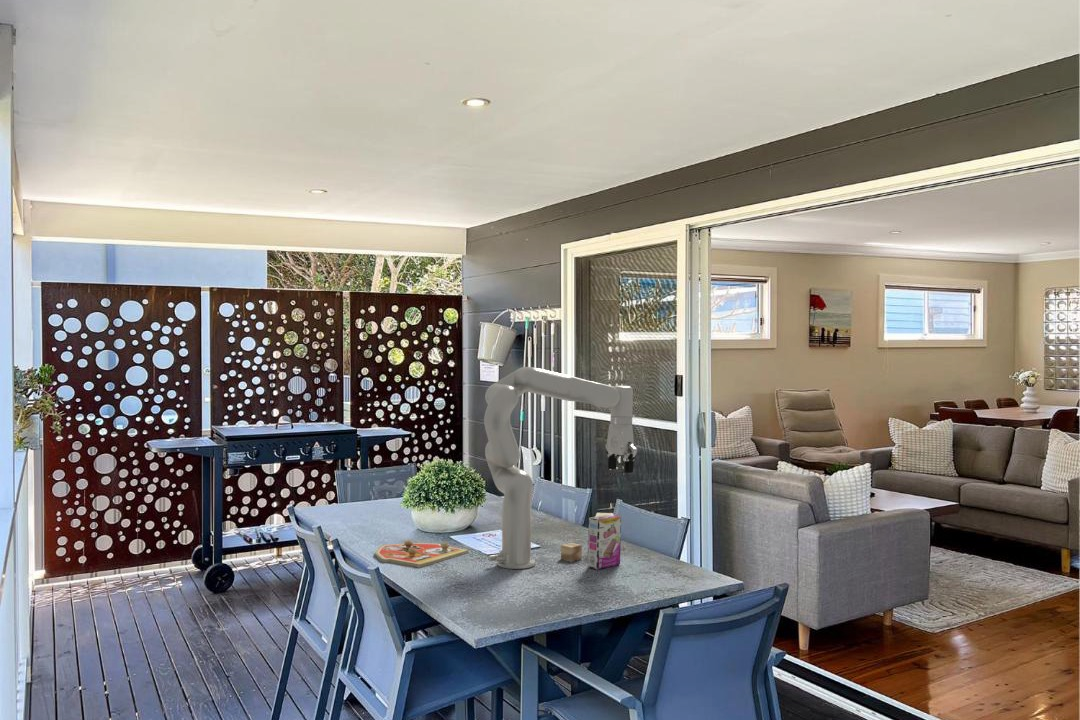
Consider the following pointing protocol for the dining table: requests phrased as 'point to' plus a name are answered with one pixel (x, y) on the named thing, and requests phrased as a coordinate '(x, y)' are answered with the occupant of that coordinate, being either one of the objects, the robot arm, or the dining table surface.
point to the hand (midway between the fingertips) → (620, 470)
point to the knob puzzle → (417, 553)
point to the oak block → (571, 551)
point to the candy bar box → (604, 541)
